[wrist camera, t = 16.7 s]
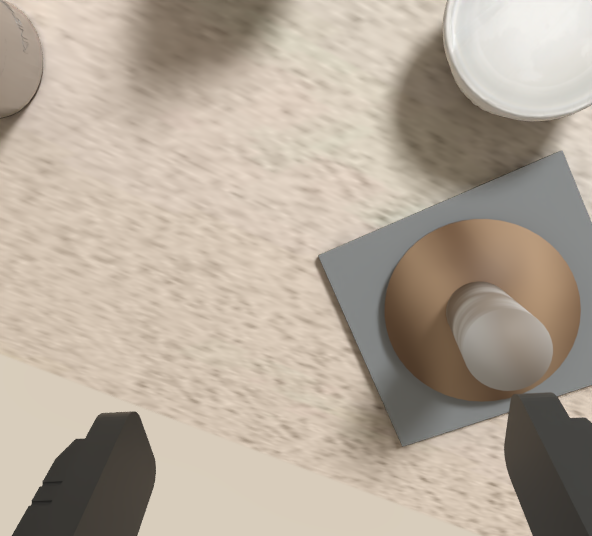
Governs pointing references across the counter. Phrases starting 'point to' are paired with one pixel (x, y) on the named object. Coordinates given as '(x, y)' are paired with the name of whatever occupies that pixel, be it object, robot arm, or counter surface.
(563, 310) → the lid
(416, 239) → the mat
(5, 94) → the robot arm
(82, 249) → the counter surface
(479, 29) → the ramekin
